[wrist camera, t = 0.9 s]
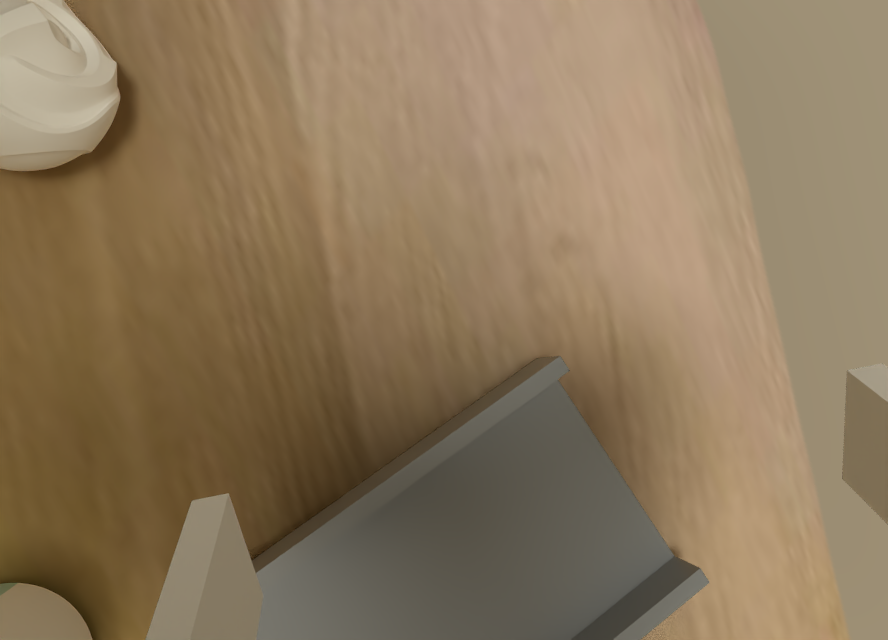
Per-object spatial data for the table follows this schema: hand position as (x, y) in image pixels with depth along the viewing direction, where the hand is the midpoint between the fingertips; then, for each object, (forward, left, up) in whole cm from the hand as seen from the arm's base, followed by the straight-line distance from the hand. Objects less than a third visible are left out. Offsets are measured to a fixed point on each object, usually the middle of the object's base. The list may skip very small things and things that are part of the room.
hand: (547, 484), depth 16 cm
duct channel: (+7, -3, -21) cm, 23 cm away
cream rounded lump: (-21, -6, -22) cm, 31 cm away
